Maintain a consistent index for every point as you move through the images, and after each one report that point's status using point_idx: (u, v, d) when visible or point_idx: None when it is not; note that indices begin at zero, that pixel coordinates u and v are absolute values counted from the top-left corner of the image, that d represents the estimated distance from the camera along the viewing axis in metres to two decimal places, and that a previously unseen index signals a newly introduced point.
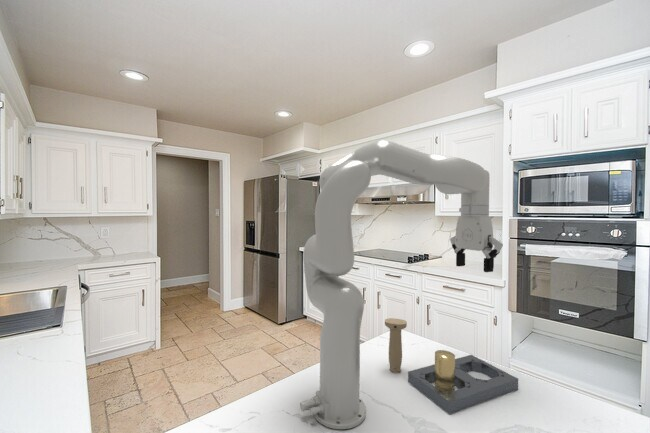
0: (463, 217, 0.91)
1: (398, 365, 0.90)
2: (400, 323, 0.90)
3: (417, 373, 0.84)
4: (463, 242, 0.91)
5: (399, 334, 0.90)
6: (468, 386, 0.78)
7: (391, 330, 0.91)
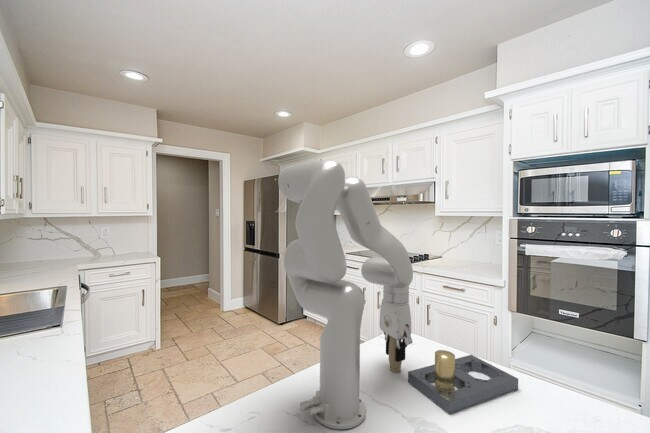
0: (385, 302, 0.92)
1: (398, 365, 0.90)
2: None
3: (417, 373, 0.84)
4: (385, 327, 0.92)
5: None
6: (468, 386, 0.78)
7: None
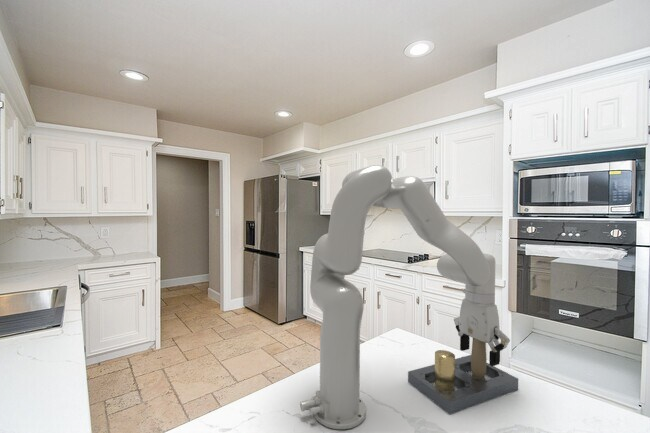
0: (467, 302, 0.87)
1: (483, 375, 0.85)
2: None
3: (417, 373, 0.84)
4: (467, 329, 0.87)
5: None
6: (468, 386, 0.78)
7: None
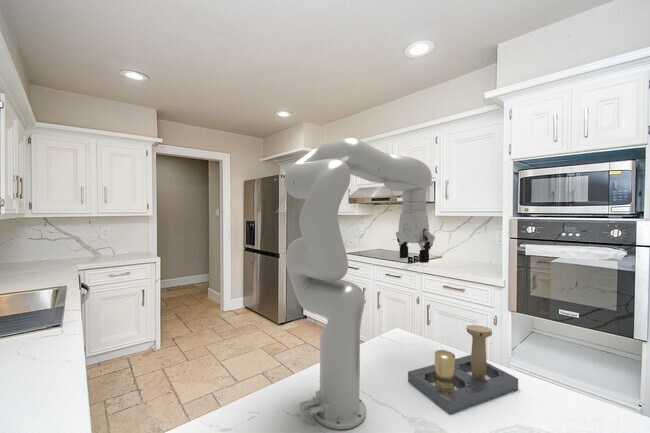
0: (404, 213, 0.99)
1: (483, 375, 0.85)
2: (485, 330, 0.85)
3: (417, 373, 0.84)
4: (404, 236, 0.99)
5: (484, 342, 0.85)
6: (468, 386, 0.78)
7: (475, 338, 0.85)
